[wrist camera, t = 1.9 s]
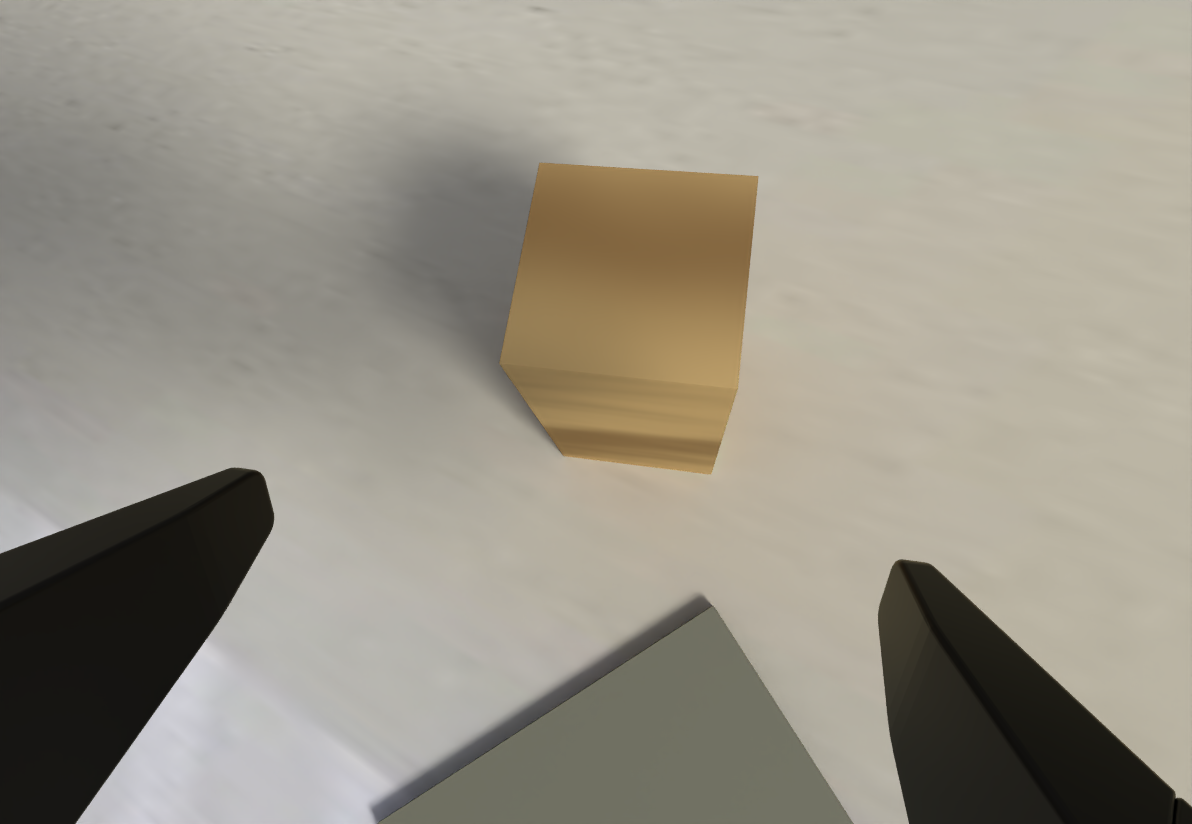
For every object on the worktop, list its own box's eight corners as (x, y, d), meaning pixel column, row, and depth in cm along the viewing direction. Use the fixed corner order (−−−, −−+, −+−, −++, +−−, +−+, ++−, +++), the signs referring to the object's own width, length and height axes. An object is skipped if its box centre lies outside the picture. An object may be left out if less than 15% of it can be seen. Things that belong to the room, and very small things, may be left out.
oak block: (711, 474, 22) (737, 388, 13) (563, 455, 23) (499, 363, 14) (725, 335, 23) (758, 176, 15) (585, 321, 24) (539, 162, 15)
